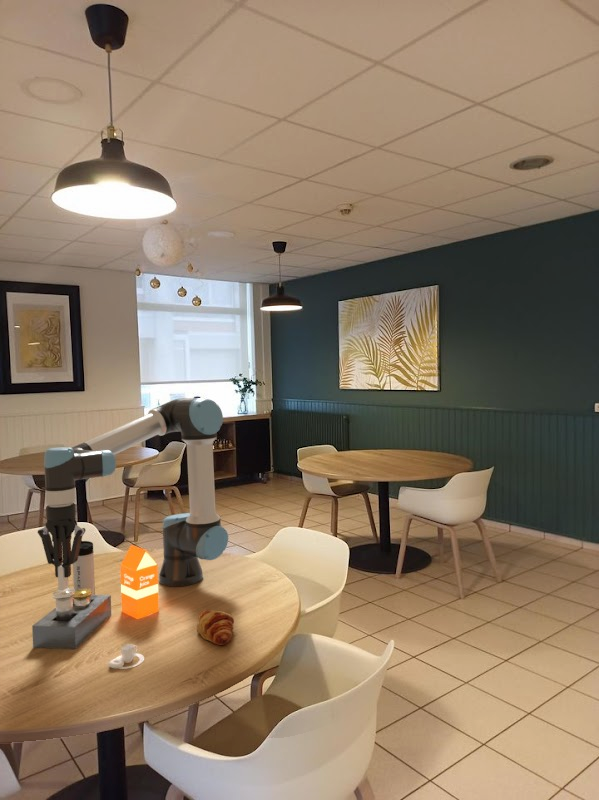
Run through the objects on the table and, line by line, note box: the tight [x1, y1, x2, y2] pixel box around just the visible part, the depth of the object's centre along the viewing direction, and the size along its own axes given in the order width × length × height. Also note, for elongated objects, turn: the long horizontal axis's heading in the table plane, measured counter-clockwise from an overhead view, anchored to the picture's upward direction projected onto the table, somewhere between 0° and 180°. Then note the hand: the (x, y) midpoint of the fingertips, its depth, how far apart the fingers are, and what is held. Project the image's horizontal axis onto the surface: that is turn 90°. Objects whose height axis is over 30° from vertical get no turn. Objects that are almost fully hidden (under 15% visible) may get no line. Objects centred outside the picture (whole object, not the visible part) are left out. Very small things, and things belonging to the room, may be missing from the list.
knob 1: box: [52, 587, 75, 621], centre depth 158 cm, size 6×6×8 cm
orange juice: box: [119, 544, 160, 620], centre depth 176 cm, size 8×9×20 cm
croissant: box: [196, 609, 235, 646], centre depth 160 cm, size 21×10×8 cm, turn 24°
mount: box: [31, 594, 112, 650], centre depth 164 cm, size 12×22×6 cm, turn 174°
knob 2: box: [73, 588, 92, 606], centre depth 169 cm, size 6×6×8 cm
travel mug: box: [72, 540, 96, 595], centre depth 182 cm, size 6×7×20 cm
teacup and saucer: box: [108, 643, 145, 670], centre depth 145 cm, size 9×8×4 cm
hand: (63, 588), depth 158 cm, fingers closed
